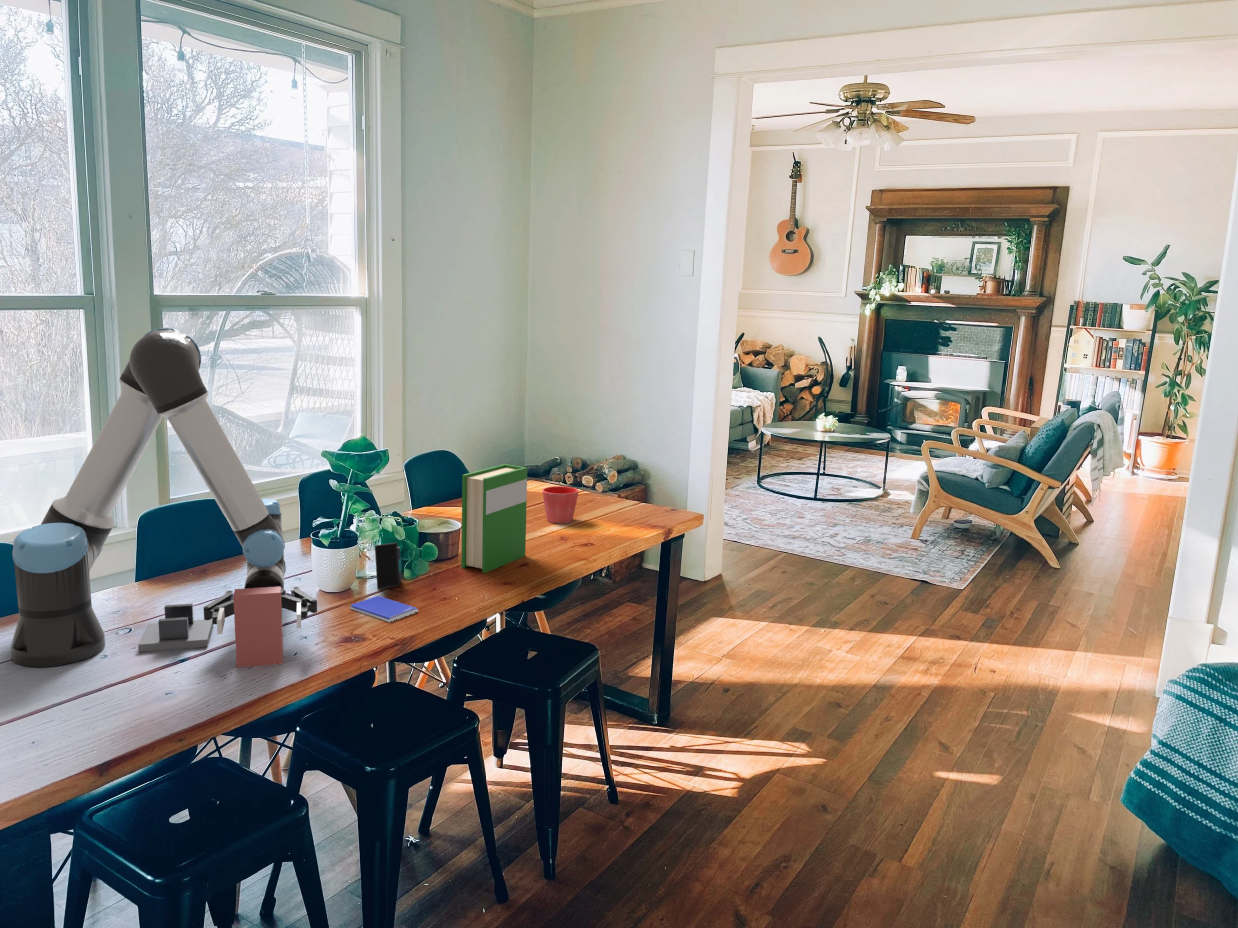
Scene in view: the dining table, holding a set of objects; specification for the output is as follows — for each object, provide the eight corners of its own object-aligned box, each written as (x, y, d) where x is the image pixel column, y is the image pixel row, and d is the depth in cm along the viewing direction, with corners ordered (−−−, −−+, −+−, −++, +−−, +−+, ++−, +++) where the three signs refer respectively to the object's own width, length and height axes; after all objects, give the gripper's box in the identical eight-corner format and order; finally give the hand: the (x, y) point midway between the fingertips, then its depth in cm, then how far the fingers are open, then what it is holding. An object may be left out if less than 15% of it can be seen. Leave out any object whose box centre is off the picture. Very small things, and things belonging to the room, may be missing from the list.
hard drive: (418, 607, 201) (379, 595, 208) (389, 617, 195) (350, 604, 201) (418, 614, 202) (379, 601, 208) (389, 624, 195) (350, 611, 202)
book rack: (138, 651, 175) (136, 624, 174) (148, 630, 185) (146, 604, 184) (207, 646, 179) (206, 619, 177) (213, 625, 189) (212, 600, 188)
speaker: (402, 587, 216) (400, 544, 214) (377, 589, 214) (374, 545, 213) (402, 580, 223) (400, 538, 222) (378, 582, 222) (375, 539, 220)
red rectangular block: (236, 667, 170) (233, 595, 167) (237, 659, 173) (234, 589, 170) (282, 663, 172) (280, 592, 170) (283, 656, 176) (280, 586, 173)
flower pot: (541, 515, 286) (541, 485, 284) (576, 516, 287) (577, 485, 286) (542, 525, 276) (542, 493, 274) (578, 525, 277) (579, 493, 275)
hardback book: (485, 572, 230) (486, 479, 225) (461, 567, 233) (462, 474, 228) (525, 555, 245) (527, 467, 240) (502, 551, 248) (504, 463, 243)
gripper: (328, 599, 193) (331, 637, 174) (198, 608, 186) (186, 649, 166) (327, 565, 192) (330, 600, 172) (196, 572, 184) (183, 609, 164)
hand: (259, 624), depth 169 cm, fingers open, 13 cm apart
